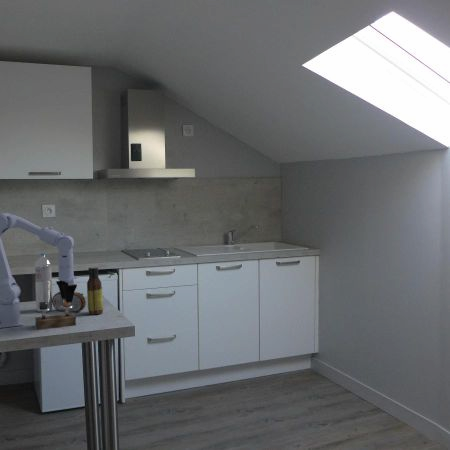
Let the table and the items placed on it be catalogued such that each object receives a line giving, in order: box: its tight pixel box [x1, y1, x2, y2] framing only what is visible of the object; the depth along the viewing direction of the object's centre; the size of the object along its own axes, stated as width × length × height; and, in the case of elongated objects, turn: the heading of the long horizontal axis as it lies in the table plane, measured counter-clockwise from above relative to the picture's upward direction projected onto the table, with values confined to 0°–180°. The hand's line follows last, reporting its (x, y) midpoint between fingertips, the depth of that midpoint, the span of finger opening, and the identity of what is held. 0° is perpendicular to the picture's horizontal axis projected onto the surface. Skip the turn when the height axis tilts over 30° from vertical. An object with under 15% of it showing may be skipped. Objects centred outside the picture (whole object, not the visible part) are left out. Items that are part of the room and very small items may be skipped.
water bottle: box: [34, 252, 53, 313], centre depth 260 cm, size 7×7×25 cm
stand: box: [34, 312, 77, 330], centre depth 237 cm, size 14×7×3 cm, turn 119°
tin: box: [52, 291, 86, 313], centre depth 260 cm, size 15×3×8 cm, turn 74°
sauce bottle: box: [86, 266, 104, 315], centre depth 256 cm, size 7×6×20 cm
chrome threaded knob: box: [36, 302, 51, 319], centre depth 234 cm, size 5×5×6 cm
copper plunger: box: [60, 299, 73, 316], centre depth 238 cm, size 5×5×6 cm
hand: (66, 300), depth 238 cm, fingers open, 7 cm apart
